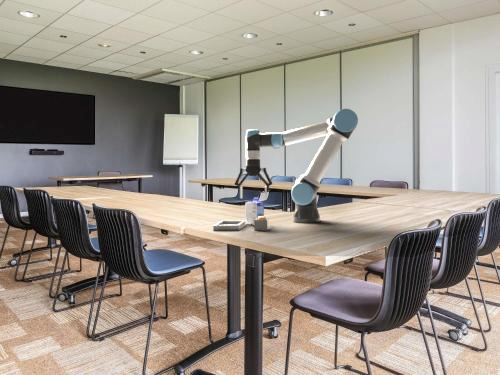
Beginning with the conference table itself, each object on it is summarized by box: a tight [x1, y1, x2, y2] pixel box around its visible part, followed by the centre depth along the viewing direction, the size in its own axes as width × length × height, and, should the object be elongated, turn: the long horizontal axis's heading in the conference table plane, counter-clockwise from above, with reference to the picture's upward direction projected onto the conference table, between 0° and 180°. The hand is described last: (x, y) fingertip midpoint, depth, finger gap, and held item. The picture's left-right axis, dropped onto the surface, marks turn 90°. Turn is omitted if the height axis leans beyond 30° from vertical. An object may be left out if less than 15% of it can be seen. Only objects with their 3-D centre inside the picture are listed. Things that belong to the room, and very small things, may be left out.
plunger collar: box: [254, 217, 270, 231], centre depth 202 cm, size 6×6×5 cm
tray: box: [212, 220, 247, 231], centre depth 210 cm, size 13×17×2 cm
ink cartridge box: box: [244, 197, 265, 226], centre depth 220 cm, size 10×6×14 cm, turn 41°
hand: (253, 198), depth 219 cm, fingers open, 13 cm apart
